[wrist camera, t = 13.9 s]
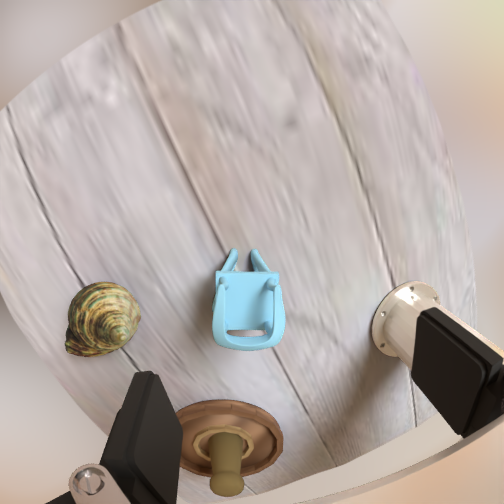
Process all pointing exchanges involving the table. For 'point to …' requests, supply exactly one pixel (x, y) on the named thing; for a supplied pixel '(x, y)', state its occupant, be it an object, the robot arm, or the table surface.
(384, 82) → the table surface
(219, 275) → the chair
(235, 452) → the cork
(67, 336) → the seashell
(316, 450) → the table surface
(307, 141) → the table surface
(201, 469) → the ring tray
